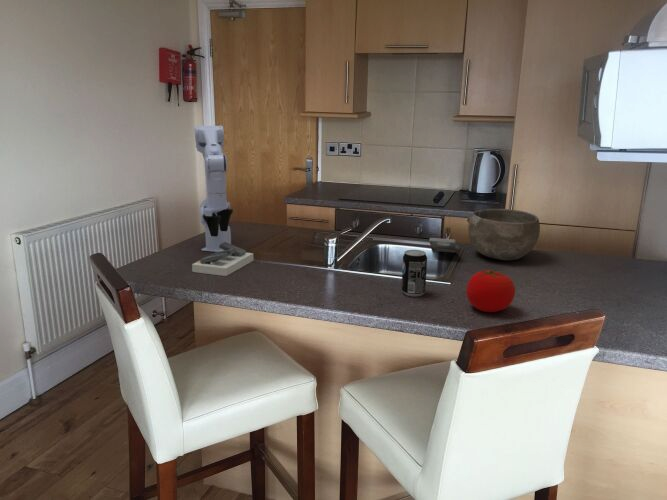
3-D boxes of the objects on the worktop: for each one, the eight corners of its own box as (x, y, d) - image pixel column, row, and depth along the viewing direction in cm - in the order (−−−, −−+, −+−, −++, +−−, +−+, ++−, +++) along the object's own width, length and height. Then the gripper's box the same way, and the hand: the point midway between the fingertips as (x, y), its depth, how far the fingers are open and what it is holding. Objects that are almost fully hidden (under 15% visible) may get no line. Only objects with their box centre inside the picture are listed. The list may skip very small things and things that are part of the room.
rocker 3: (224, 245, 185) (225, 241, 185) (245, 253, 183) (245, 250, 183) (219, 247, 182) (219, 244, 181) (239, 256, 180) (240, 253, 180)
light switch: (456, 247, 197) (455, 236, 183) (454, 263, 196) (454, 254, 182) (432, 245, 199) (429, 235, 185) (430, 261, 198) (428, 252, 184)
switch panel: (222, 256, 189) (221, 247, 188) (253, 260, 185) (253, 251, 184) (192, 271, 172) (191, 261, 171) (226, 276, 168) (225, 265, 168)
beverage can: (407, 287, 159) (408, 248, 156) (428, 292, 156) (431, 251, 153) (397, 294, 154) (399, 253, 151) (419, 299, 151) (421, 257, 147)
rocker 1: (207, 260, 176) (205, 256, 176) (227, 255, 173) (226, 252, 172) (200, 263, 172) (199, 259, 172) (221, 258, 169) (220, 255, 169)
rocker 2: (216, 255, 181) (215, 252, 181) (236, 251, 178) (235, 247, 177) (210, 258, 177) (209, 255, 177) (230, 254, 174) (229, 250, 174)
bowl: (468, 265, 182) (472, 220, 178) (461, 246, 205) (463, 206, 201) (544, 268, 179) (549, 223, 175) (527, 248, 202) (532, 208, 198)
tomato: (466, 299, 151) (469, 262, 148) (512, 304, 147) (516, 267, 144) (463, 314, 140) (466, 275, 137) (513, 320, 137) (517, 280, 134)
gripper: (215, 188, 184) (217, 227, 187) (195, 195, 170) (197, 238, 174) (235, 189, 182) (236, 229, 186) (216, 196, 168) (218, 239, 172)
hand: (219, 233), depth 180 cm, fingers open, 7 cm apart
